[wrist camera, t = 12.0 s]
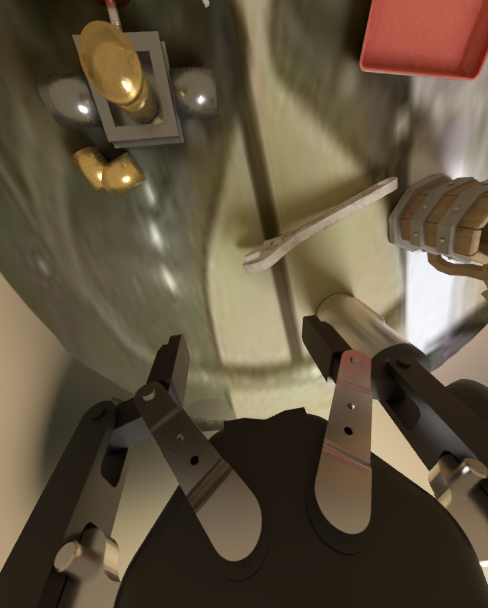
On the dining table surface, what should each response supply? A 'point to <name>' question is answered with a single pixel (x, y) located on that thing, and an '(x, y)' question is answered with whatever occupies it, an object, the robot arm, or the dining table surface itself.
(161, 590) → the robot arm
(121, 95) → the brass knob
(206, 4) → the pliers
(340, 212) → the wrench
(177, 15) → the dining table surface
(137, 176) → the brass elbow
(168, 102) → the valve body
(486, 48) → the plant saucer
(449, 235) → the tankard
